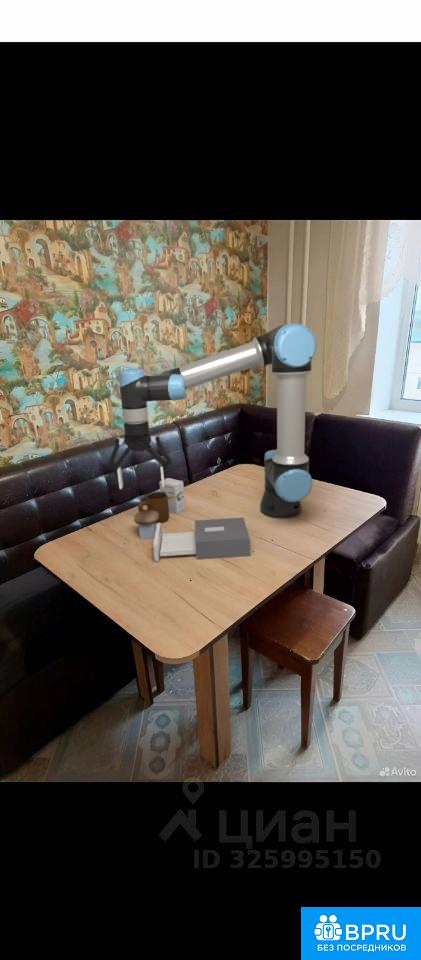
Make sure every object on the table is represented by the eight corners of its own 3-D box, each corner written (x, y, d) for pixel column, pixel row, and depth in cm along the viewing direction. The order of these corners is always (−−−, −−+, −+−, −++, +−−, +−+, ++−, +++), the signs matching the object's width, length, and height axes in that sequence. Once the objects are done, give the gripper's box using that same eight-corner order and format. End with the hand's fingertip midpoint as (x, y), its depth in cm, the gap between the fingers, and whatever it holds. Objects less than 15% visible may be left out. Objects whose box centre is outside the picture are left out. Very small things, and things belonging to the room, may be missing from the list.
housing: (243, 533, 135) (243, 516, 133) (250, 555, 121) (249, 537, 119) (195, 536, 135) (194, 520, 133) (196, 559, 121) (195, 541, 119)
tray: (206, 534, 135) (205, 519, 133) (208, 557, 121) (207, 541, 119) (157, 538, 134) (155, 523, 133) (153, 561, 120) (151, 545, 118)
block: (156, 531, 140) (154, 515, 138) (155, 538, 135) (153, 522, 133) (142, 532, 140) (140, 516, 138) (140, 539, 135) (138, 523, 133)
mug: (146, 530, 141) (144, 505, 138) (134, 524, 146) (131, 499, 143) (173, 519, 149) (171, 495, 146) (161, 513, 154) (158, 490, 151)
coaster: (159, 513, 139) (159, 509, 139) (157, 523, 132) (157, 519, 131) (136, 515, 139) (135, 510, 138) (133, 525, 131) (132, 520, 131)
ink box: (161, 509, 158) (158, 481, 154) (169, 505, 161) (167, 477, 158) (177, 514, 153) (174, 485, 149) (186, 509, 156) (183, 481, 152)
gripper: (177, 417, 128) (181, 480, 135) (97, 421, 127) (105, 484, 134) (176, 421, 121) (180, 488, 128) (92, 425, 120) (101, 492, 127)
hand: (142, 486), depth 131 cm, fingers open, 13 cm apart
